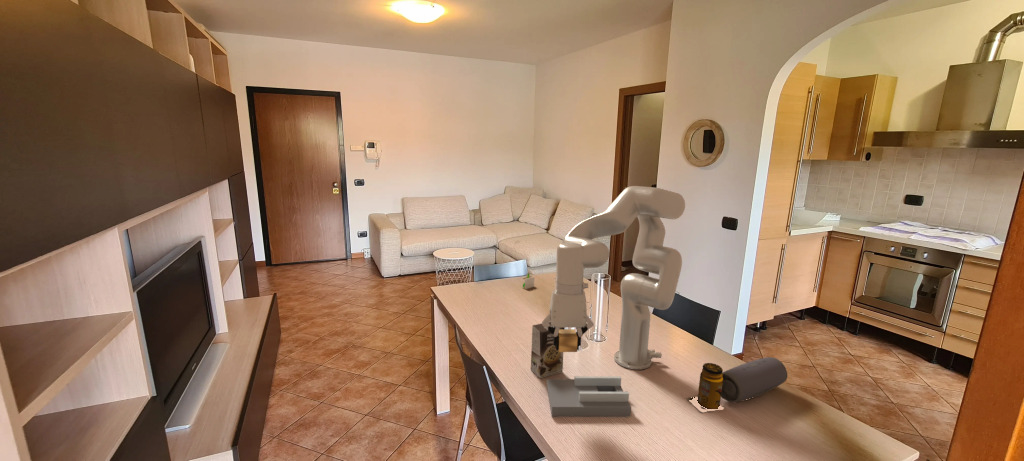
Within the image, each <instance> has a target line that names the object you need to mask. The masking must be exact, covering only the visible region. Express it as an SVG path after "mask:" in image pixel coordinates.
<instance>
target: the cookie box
mask: <svg viewBox="0 0 1024 461" xmlns="http://www.w3.org/2000/svg"><path fill="white" fill-rule="evenodd" d="M548 324H550V325H551V321H550V322H549V323H548ZM551 326H552V325H551ZM552 327H554V326H552ZM531 329H532V330H531V331H532V332H531V349H530V350H531V354H530V358H531V359H530V371H531V372H532V373H533V374H535V376H537V377H538V378H539V379H542V378H545V377H550V376H553V375H556V374H561V373H563V371H564V368H563V367H564V352H559V349H558V350H556V346H554V345H553V334H552V333H551V332H550V331H549V330H548V329H546V328H545V327H544V326H543V325H542V323H538V324H533V325H532V328H531ZM560 329H566V327H560Z"/></svg>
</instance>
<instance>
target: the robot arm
mask: <svg viewBox="0 0 1024 461" xmlns="http://www.w3.org/2000/svg"><path fill="white" fill-rule="evenodd" d="M685 208H686V201H685V198H684V197H683V195H681V194H680V193H678V192H675V191H671V190H667V189H664V188H660V187H651V186H641V185H640V186H639V185H630V186H628V187H625V188H624V189H623V190H622V192H620V193H619V195H617V197H616V198H615V199H614V200H613V201H612V202H611V204H610V205H609V206H608V207H607V208H605V210H604V211H603V212H601V213H598V214H596V215H593V216H591V217H590V218H587V219H585V220H583V221H581V222H578V224H576V225H575V226H574V227H573V228H572V229H571V230H570V231H569V232H568V233H567V234H566V236H565V237H564V239H562V242H561V243H560V244H559V245H558V246H557V249H556V270H555V271H556V272H555V289H553V290H552V292H551V295H550V296H551V298H550V304H549V313H548V314H547V315H546V317H544V319H543V320H542V322H541V324H542V325H543V326H544V327H545V328H546V329H548V330H549V331H550V332H551V333H552V334H553V345H554V346H556V350H558V349H559V335H558V333H559V330H560V327H565V328H576V329H575V331H576V334H577V337H578V339H577V351H580V347H581V346H582V337H583V336H584V334H585V333H587V332H588V331H589V330H590V329H591V328H592V327H594V325H595V323H594V322H593V320H592V319H591V318H590V317H589V315H588V313H587V297H586V292H585V290H586V289H589V283H586V282H584V277H585V276H584V273H585V269H596V268H600V267H602V266H604V265H605V264H606V263H607V262H608V260H609V258H610V250H609V247H608V245H606V244H605V243H603V242H602V241H598V240H594V239H598V238H601V237H607V236H608V237H610V236H615V235H619V234H622V233H624V232H626V230H628V228H630V226H631V225H632V224H633V222H634V221H635V220H636V219H638V223H639V231H638V235H637V240H636V243H635V246H634V251H633V254H632V265H633V267H634V268H635V269H637V270H639V271H644V272H646V273H650V274H655V275H658V276H659V278H656V277H652V276H650V275H646V274H641V273H635V272H634V273H633V272H632V273H628V274H626V275H625V276H623V278H622V279H621V282H620V293H621V294H620V295H621V320H620V321H621V322H620V331H619V332H620V336H619V347H618V348H619V349H618V350H617V351H616V352H615V353H614V356H613V358H614V361H615V362H616V363H617V364H618V365H619V366H621V367H623V368H627V369H630V370H637V371H638V370H645V369H648V368H649V367H650V366H651V365H652V359H661V358H662V352H661V351H660V352H659V351H656V350H655V349H649V340H650V339H649V338H650V337H649V336H650V327H651V312H650V308H653V309H657V310H660V311H661V310H662V311H664V310H668V309H669V308H670V307H671V306H672V304H673V302H674V298H675V295H676V292H677V287H678V283H679V279H680V274H681V272H682V266H683V258H682V255H681V252H679V250H677V249H675V248H672V247H668V246H664V241H665V237H666V229H665V225H664V223H663V221H662V219H665V220H666V219H667V220H678V219H679V218H681V217H682V215H683V214H684V212H685V210H686V209H685ZM649 307H650V308H649ZM549 322H551V325H552V326H554V327H552V326H551V325H550V324H548V323H549Z"/></svg>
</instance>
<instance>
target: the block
mask: <svg viewBox="0 0 1024 461" xmlns="http://www.w3.org/2000/svg"><path fill="white" fill-rule="evenodd" d="M576 332H577V330H576V329H572V328H571V329H570V328H569V329H568V328H567V329H566V328H565V329H560V330H559V333H558V335H559V352H563V353H578V350H577V339H578V337H577V334H576Z"/></svg>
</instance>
